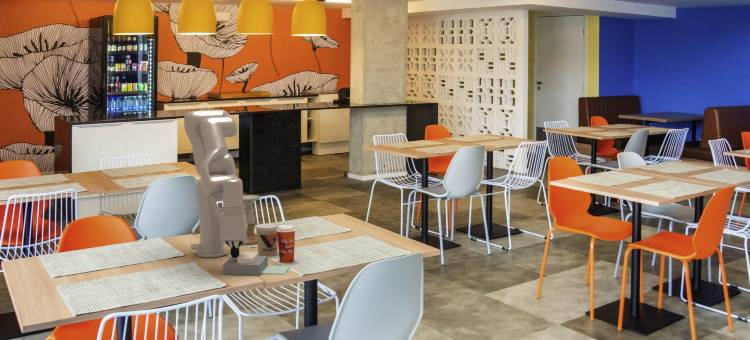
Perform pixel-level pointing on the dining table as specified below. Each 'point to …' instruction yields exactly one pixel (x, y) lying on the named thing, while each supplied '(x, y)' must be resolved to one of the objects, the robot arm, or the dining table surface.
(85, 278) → the dining table surface
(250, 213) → the candle holder
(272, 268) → the mat
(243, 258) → the pale pink flat block
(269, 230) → the coffee cup
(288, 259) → the paper cup
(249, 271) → the grey flat block
